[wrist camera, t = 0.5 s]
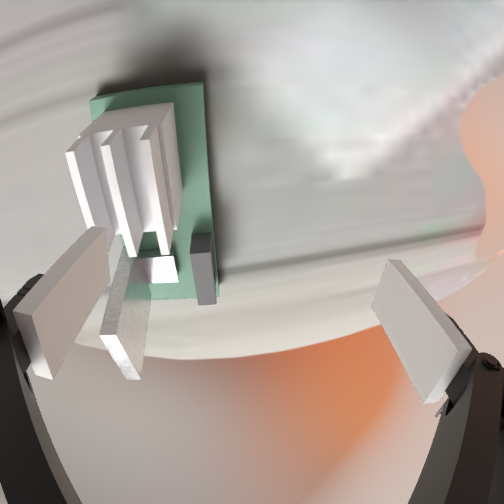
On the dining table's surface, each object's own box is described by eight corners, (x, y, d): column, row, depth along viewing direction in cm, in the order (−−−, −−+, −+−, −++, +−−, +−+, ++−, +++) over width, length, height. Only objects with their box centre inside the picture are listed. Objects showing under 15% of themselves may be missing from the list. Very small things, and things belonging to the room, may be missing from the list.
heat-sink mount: (96, 96, 19) (40, 139, 13) (203, 81, 20) (195, 114, 13) (143, 289, 32) (131, 363, 26) (219, 285, 33) (222, 360, 26)
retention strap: (125, 238, 26) (99, 335, 18) (171, 234, 26) (158, 334, 19) (141, 287, 30) (126, 379, 22) (181, 285, 30) (176, 379, 23)
